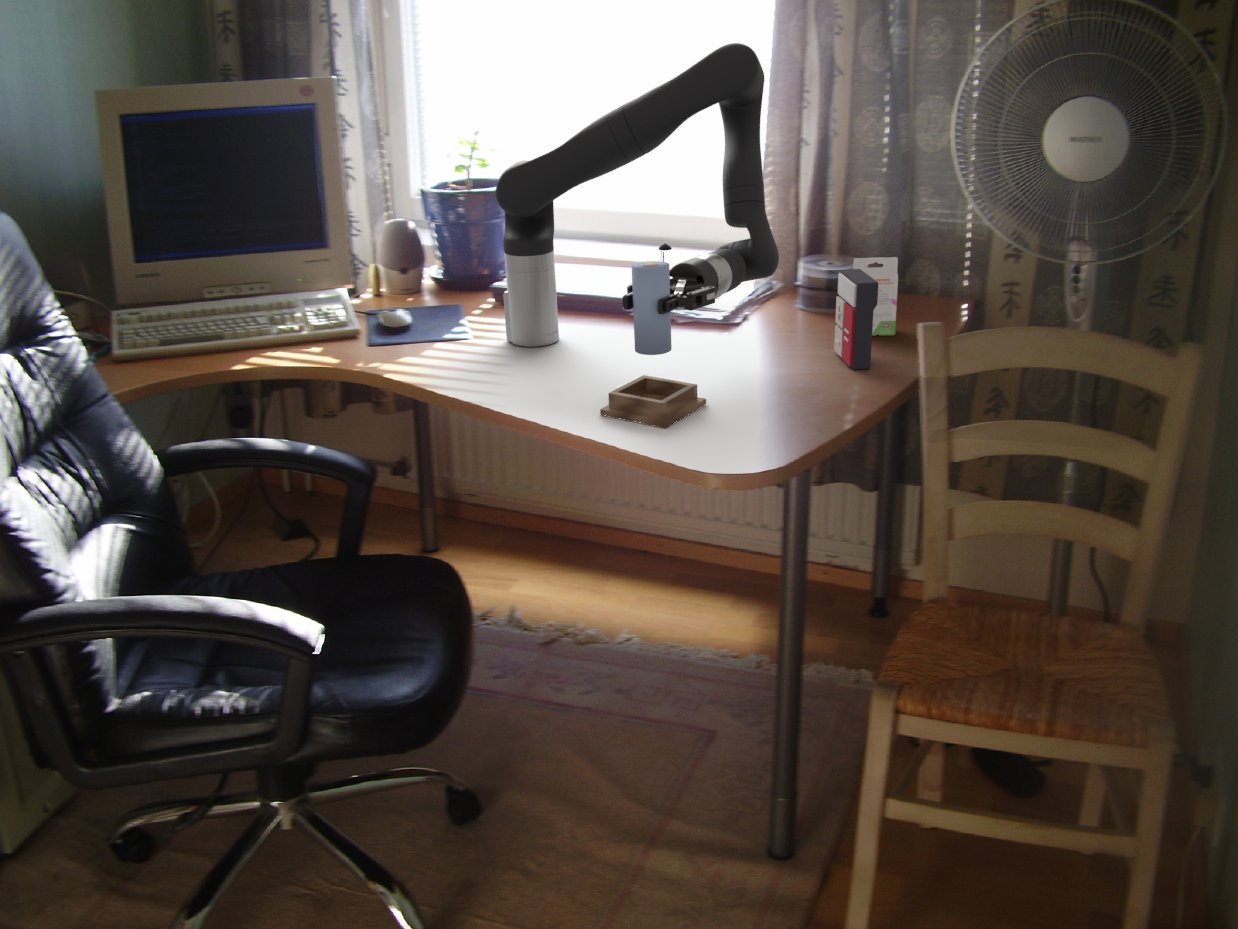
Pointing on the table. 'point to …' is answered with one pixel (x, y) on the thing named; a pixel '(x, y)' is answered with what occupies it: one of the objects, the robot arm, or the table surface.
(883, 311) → the ink box
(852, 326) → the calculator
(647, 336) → the blue-grey tall cylinder
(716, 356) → the table surface
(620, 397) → the walnut holder
